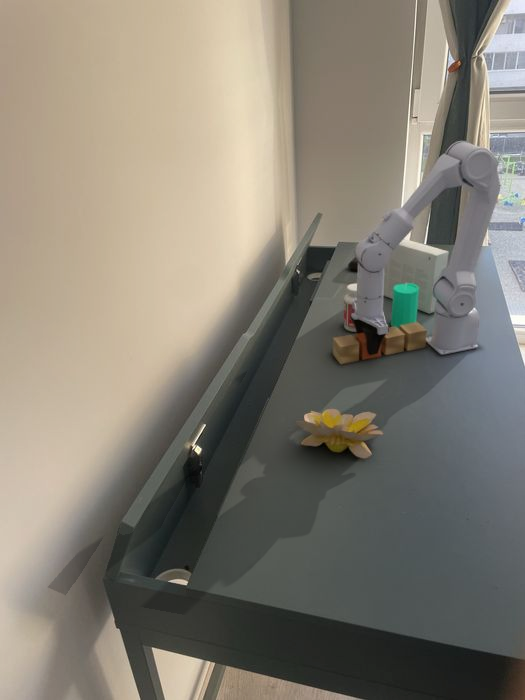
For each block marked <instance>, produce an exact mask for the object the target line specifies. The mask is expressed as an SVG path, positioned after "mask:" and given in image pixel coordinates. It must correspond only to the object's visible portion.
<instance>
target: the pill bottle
mask: <svg viewBox="0 0 525 700" xmlns="http://www.w3.org/2000/svg"><path fill="white" fill-rule="evenodd" d="M353 300H357V282H355V283H350V284H348V285H347V286H346V294H345V295H344V297H343V327H344V329H346V331H348V332H352V333H357V332H356V329H355V326H354V323H353V321H352V319H351V317H350V316H351V314H352V313H355V309H353V308H352V305H353Z"/></svg>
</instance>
